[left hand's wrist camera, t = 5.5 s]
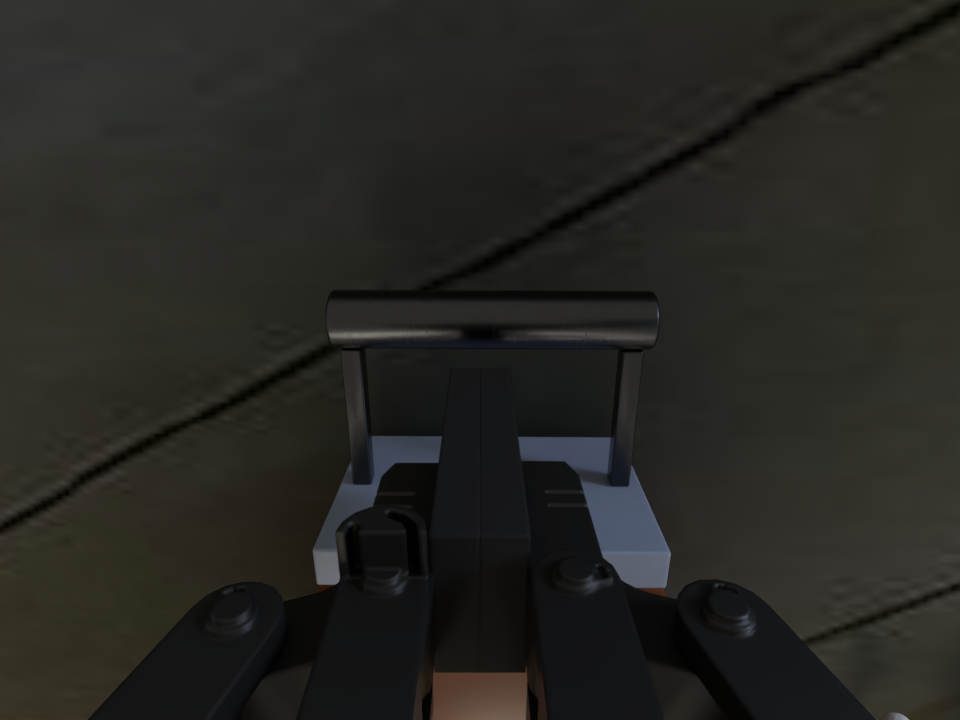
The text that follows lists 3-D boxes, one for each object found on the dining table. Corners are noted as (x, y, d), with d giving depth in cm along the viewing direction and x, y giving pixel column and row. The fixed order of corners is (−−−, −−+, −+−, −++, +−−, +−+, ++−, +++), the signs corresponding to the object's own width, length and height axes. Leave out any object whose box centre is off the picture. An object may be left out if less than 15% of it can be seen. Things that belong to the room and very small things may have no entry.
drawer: (347, 268, 19) (282, 327, 13) (636, 269, 19) (705, 328, 13) (384, 724, 26) (355, 893, 20) (591, 727, 26) (621, 897, 20)
